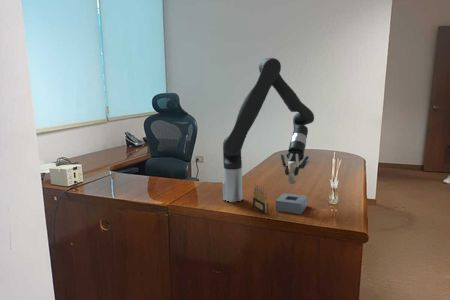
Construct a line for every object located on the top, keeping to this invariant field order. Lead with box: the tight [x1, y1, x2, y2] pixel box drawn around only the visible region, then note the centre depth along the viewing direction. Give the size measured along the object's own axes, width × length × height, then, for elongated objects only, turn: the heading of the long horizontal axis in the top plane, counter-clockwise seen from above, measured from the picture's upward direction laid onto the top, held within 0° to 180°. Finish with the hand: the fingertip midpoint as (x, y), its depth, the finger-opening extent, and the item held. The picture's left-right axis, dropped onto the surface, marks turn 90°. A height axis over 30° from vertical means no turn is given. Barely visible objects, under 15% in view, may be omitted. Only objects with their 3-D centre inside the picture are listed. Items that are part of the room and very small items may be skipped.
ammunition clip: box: [252, 183, 269, 215], centre depth 161 cm, size 11×2×12 cm, turn 26°
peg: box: [287, 161, 297, 185], centre depth 160 cm, size 4×4×10 cm
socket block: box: [275, 192, 308, 215], centre depth 163 cm, size 12×12×5 cm
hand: (291, 174), depth 159 cm, fingers closed on peg, 3 cm apart
